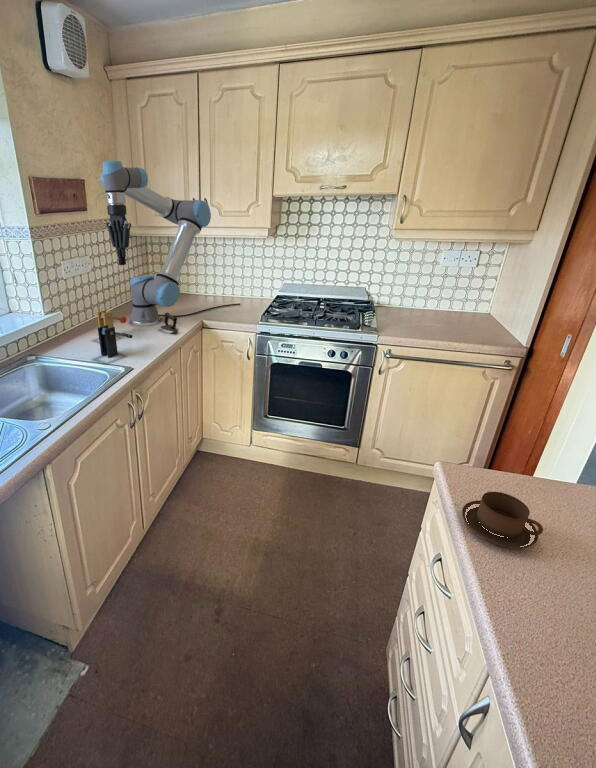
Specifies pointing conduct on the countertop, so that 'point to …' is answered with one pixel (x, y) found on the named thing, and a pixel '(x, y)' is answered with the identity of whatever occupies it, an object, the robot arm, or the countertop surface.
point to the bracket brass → (105, 319)
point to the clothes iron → (170, 327)
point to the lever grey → (119, 334)
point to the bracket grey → (108, 341)
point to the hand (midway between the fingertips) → (122, 264)
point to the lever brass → (122, 319)
